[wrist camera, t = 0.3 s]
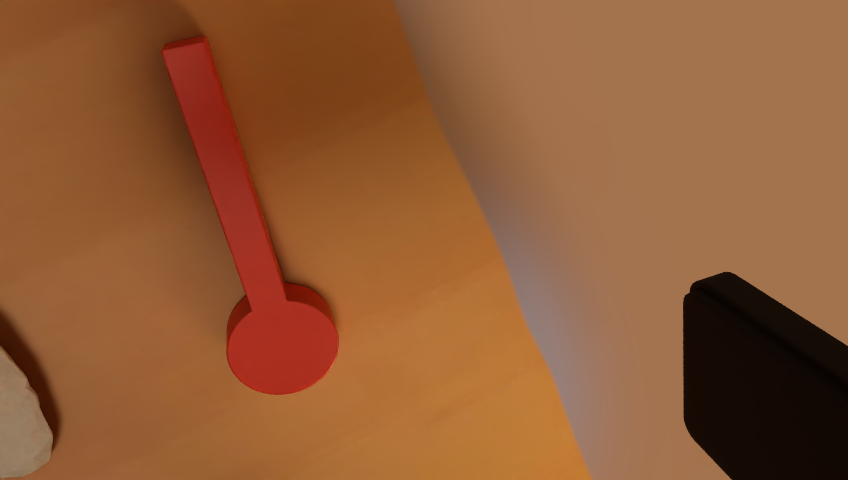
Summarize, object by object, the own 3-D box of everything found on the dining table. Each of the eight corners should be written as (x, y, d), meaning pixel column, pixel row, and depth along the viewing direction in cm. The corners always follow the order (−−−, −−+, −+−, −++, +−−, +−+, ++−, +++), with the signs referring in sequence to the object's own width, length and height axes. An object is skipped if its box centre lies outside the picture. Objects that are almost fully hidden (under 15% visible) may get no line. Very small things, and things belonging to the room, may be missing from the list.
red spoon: (118, 53, 21) (111, 60, 20) (250, 25, 22) (251, 30, 21) (244, 385, 28) (245, 408, 26) (343, 355, 28) (349, 376, 27)
